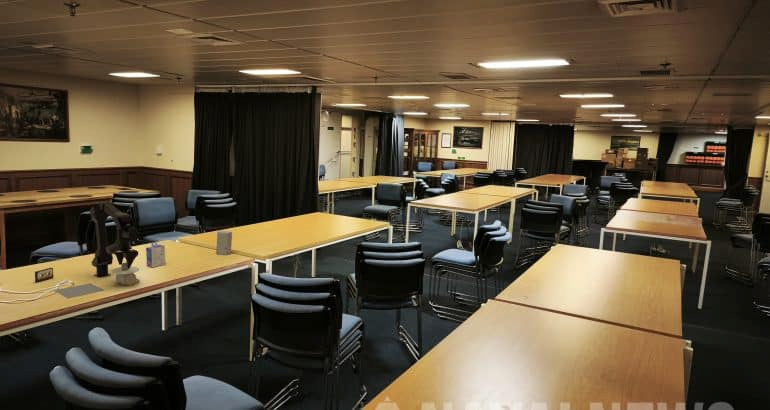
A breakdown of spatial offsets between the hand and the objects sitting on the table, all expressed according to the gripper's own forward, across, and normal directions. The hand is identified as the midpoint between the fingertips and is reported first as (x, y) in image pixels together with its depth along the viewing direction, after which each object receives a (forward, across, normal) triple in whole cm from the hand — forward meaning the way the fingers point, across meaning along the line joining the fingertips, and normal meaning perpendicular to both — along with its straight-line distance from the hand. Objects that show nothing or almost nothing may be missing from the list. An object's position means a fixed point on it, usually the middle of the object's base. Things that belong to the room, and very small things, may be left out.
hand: (124, 266), depth 249 cm
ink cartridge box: (+10, -24, +30) cm, 40 cm away
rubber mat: (+10, -5, -20) cm, 23 cm away
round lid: (+2, 0, 0) cm, 3 cm away
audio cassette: (+10, -36, -25) cm, 45 cm away
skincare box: (+10, -21, +77) cm, 80 cm away
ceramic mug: (+10, 0, +2) cm, 11 cm away
